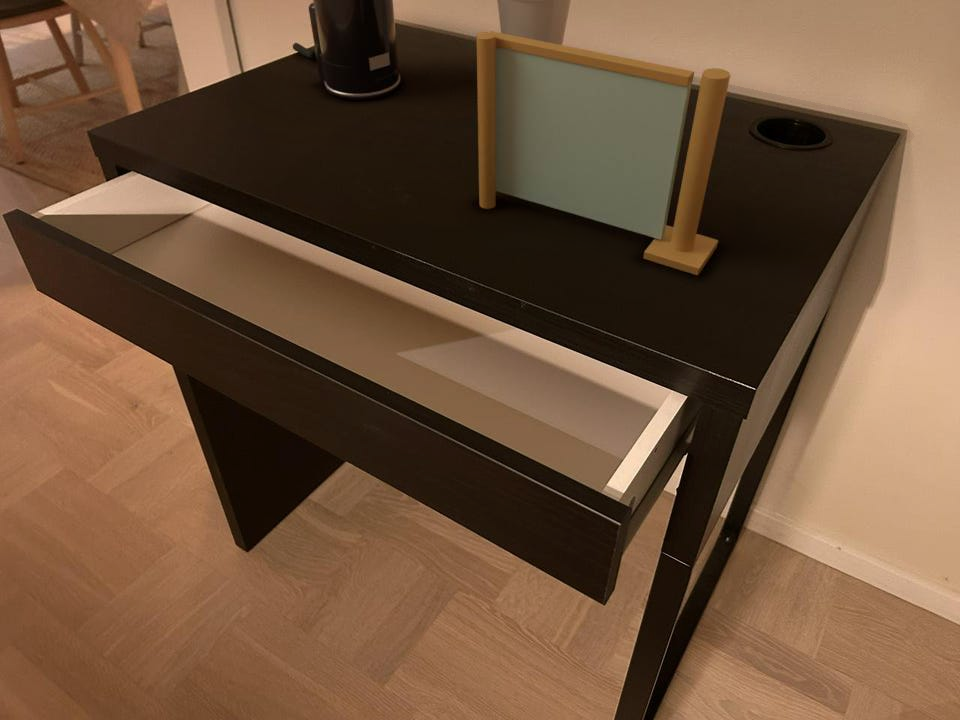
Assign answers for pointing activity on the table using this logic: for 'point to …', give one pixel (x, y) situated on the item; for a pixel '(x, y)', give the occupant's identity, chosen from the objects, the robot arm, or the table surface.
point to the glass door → (589, 131)
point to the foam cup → (534, 19)
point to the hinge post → (694, 183)
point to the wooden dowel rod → (486, 118)
